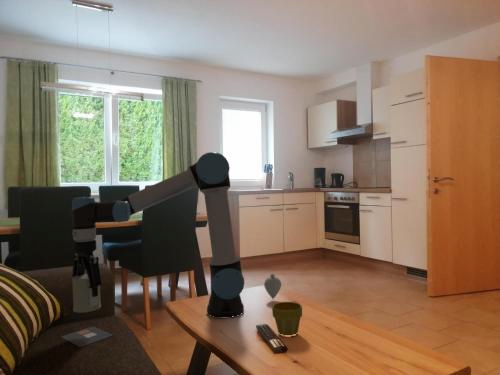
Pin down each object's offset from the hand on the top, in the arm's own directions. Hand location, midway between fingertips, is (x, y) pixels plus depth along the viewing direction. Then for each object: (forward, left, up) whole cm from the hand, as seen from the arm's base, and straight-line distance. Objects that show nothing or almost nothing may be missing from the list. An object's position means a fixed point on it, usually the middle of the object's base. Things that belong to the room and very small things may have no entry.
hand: (87, 303), depth 134 cm
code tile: (-2, +1, -11) cm, 11 cm away
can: (0, 0, -2) cm, 2 cm away
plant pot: (-58, -42, -11) cm, 72 cm away
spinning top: (-32, -70, -11) cm, 78 cm away
